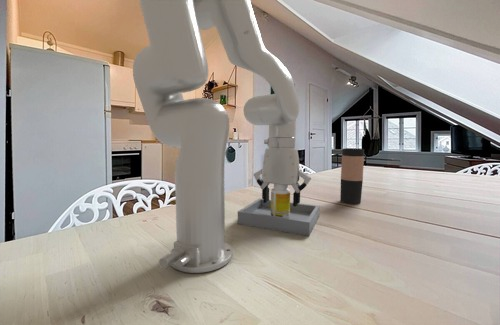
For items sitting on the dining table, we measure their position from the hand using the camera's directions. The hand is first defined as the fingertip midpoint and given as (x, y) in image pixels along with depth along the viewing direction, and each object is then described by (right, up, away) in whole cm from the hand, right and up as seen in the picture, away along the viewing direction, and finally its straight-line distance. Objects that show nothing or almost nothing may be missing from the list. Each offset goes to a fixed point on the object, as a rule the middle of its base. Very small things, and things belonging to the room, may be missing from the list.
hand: (280, 203), depth 72 cm
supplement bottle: (0, -4, 0) cm, 4 cm away
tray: (0, -5, +1) cm, 5 cm away
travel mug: (+29, -3, +21) cm, 36 cm away
